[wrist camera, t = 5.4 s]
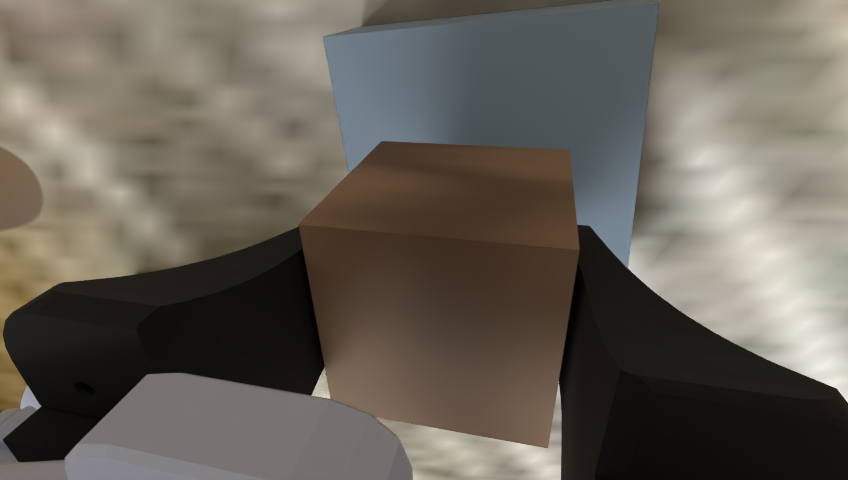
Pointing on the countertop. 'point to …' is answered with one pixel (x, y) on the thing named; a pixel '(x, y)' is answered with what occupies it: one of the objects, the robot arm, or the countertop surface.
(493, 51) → the slate block
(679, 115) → the countertop surface
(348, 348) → the walnut cube
